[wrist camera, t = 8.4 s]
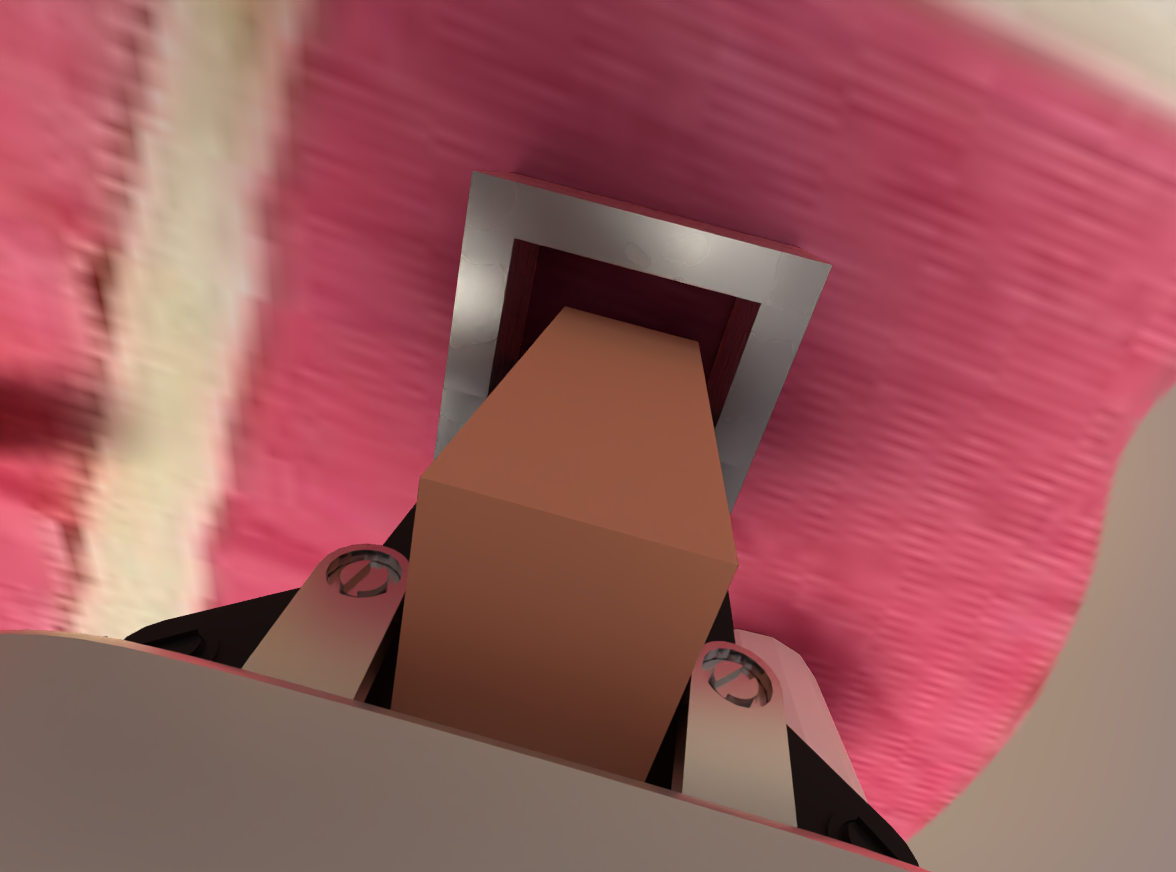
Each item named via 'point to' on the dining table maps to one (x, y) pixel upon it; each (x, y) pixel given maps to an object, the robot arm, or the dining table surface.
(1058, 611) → the dining table surface
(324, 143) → the dining table surface
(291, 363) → the dining table surface
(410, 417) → the dining table surface
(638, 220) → the grey slotted block
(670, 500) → the orange block
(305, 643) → the robot arm
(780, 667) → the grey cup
